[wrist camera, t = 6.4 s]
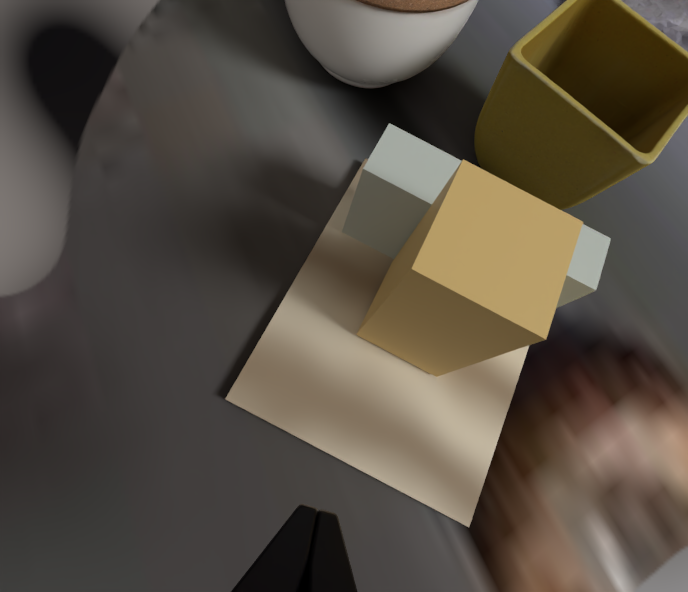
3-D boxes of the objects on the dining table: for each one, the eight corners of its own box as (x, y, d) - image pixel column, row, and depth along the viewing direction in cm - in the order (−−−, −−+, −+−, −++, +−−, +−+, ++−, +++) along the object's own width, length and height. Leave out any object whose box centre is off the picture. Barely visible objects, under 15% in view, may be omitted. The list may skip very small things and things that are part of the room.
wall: (518, 324, 25) (596, 290, 19) (341, 231, 25) (363, 168, 19) (533, 283, 26) (610, 238, 20) (362, 194, 26) (389, 123, 20)
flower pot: (509, 95, 32) (594, -26, 23) (600, 172, 31) (723, 74, 22) (438, 161, 29) (506, 49, 21) (537, 247, 28) (650, 167, 20)
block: (436, 376, 23) (546, 339, 14) (356, 334, 23) (411, 268, 14) (481, 266, 26) (599, 172, 16) (408, 228, 26) (485, 112, 17)
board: (464, 524, 22) (469, 527, 22) (226, 399, 22) (225, 399, 22) (552, 262, 28) (557, 258, 27) (363, 163, 28) (365, 158, 27)
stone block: (568, 77, 36) (692, 84, 35) (597, 23, 32) (740, 29, 31) (560, -15, 40) (670, -11, 40) (584, -74, 36) (709, -71, 35)
